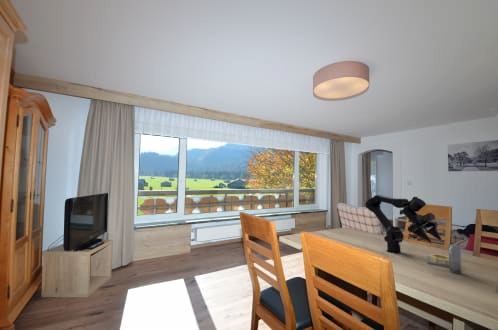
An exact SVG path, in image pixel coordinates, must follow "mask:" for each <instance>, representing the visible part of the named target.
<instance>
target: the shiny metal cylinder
mask: <svg viewBox="0 0 498 330" xmlns="http://www.w3.org/2000/svg"><path fill="white" fill-rule="evenodd" d="M447 247H448V256H449V272H450V273H452V274H455V275H462V274H463V273H462V272H463V269H462V254H461V253H462V252H461V251H462V249H461V246H459V245H456V244H448V246H447Z"/></svg>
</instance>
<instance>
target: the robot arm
mask: <svg viewBox="0 0 498 330" xmlns="http://www.w3.org/2000/svg"><path fill="white" fill-rule="evenodd" d="M382 203H385V204H389V205H392V206H393V207H395V208H396V209H399V215H400V216H401V215H404V216H405V217H406V219H407V222H408V223H411V224H410V225H409V226H407V231H408V233H412V234H413V235H416V236H418V237H419V238H422V239H424V240H425V241H427V242H432V240H431V238H430V237H429V236H428V234H429V235H431V236H432V237H434V238H436V239H437V240H439V241H441V240H442V237H441V235H440V233H439V232H438V229H437V228H438V226H439V224H438V223H437V222H436V221H434V220H436V215H435V214H434V213H432V212H429V213H426V214H423V215H422V214H418V212H420V211H421V210H423V208H424V207H425V206H426V205H427V203H426V202H425V201H424V200H423V199H421V198H419V197H418V196H413V197H412V199H410V200H409V199H408V198H395V197H390V196H385V195H382V194H379V195H378V194H375V195H374V196H373V197H371V198H369V199H368V200H366V202H365V207H366V208H367V210H369V211H370V212H372V213H373V214H374V215H375V217H376V218H377V219H378V220H379V222H380V223H381V225H382V227H384V229H385V234H386V235H385V236H384V237H383V239H384V242H386V245H387V250H386V252H389V253H395V254H397V255H398V254H400V253H401V244H400V243H403V241H404V233H403V230H401V228H400V227H399V226H394V225H393V223H392V222H391V221H390V220H389V219H388V217H387V216H386V214H385V213H384V212H383V211H382V210H381V205H382ZM425 231H426V232H427V233H426V232H425Z"/></svg>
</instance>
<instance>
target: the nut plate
mask: <svg viewBox="0 0 498 330" xmlns="http://www.w3.org/2000/svg"><path fill="white" fill-rule="evenodd" d="M426 263H427V264H428V265H432V266H438V267H442V268H447V269H448V268H449V255H446V254H440V253H429V255H428V256H427V259H426ZM449 269H450V268H449Z"/></svg>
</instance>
